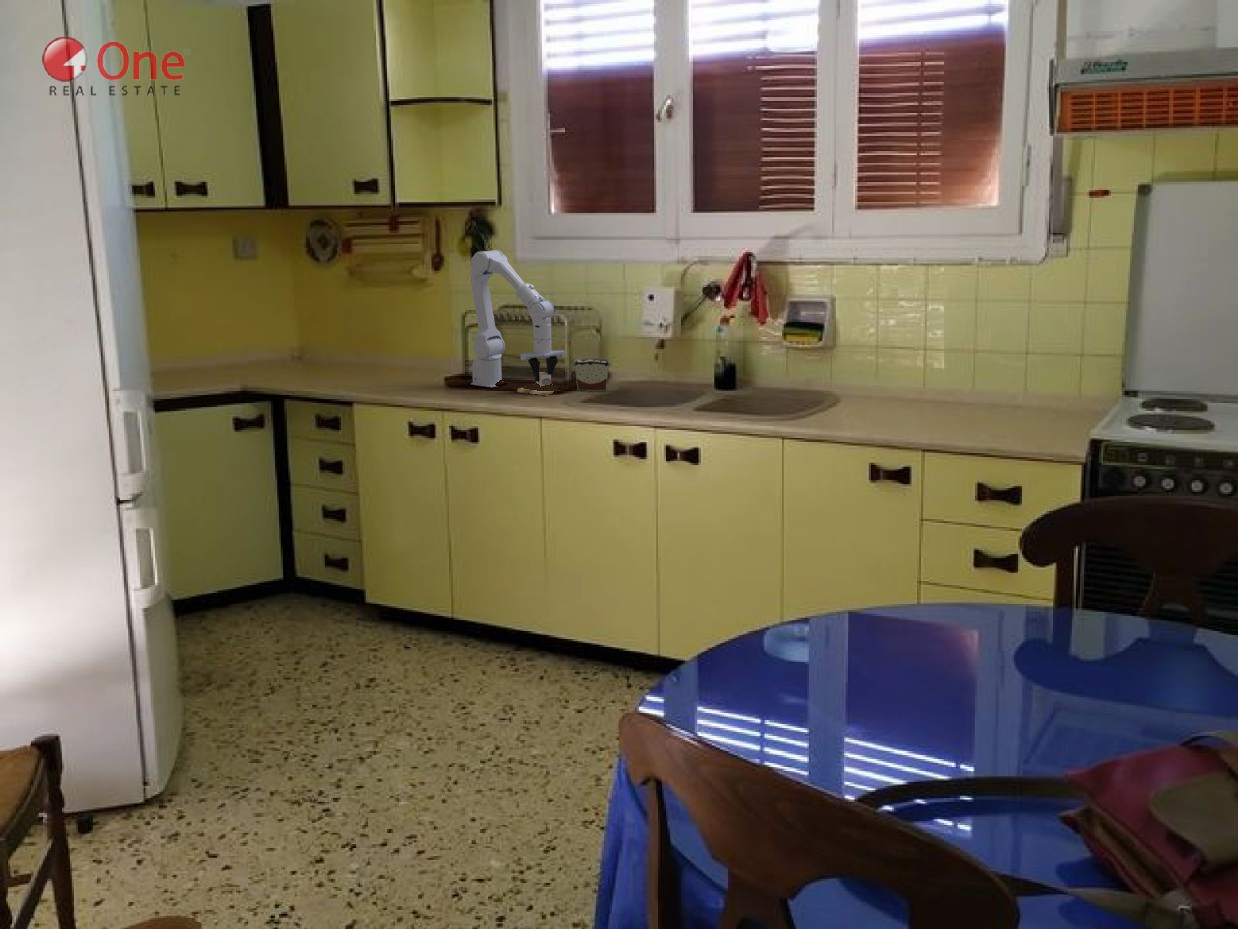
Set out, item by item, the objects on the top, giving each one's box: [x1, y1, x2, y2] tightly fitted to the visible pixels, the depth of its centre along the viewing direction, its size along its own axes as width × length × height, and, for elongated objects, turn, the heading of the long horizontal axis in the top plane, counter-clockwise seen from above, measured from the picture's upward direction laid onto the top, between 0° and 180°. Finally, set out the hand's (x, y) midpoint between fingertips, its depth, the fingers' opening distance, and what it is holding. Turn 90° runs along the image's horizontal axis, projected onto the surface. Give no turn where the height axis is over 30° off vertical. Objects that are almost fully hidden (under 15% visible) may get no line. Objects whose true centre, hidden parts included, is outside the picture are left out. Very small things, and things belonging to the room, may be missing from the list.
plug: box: [535, 371, 552, 387], centre depth 379 cm, size 8×4×4 cm, turn 24°
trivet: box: [517, 387, 554, 397], centre depth 380 cm, size 12×12×1 cm
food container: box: [572, 356, 611, 392], centre depth 382 cm, size 12×6×10 cm, turn 84°
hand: (543, 380), depth 379 cm, fingers closed on plug, 4 cm apart
